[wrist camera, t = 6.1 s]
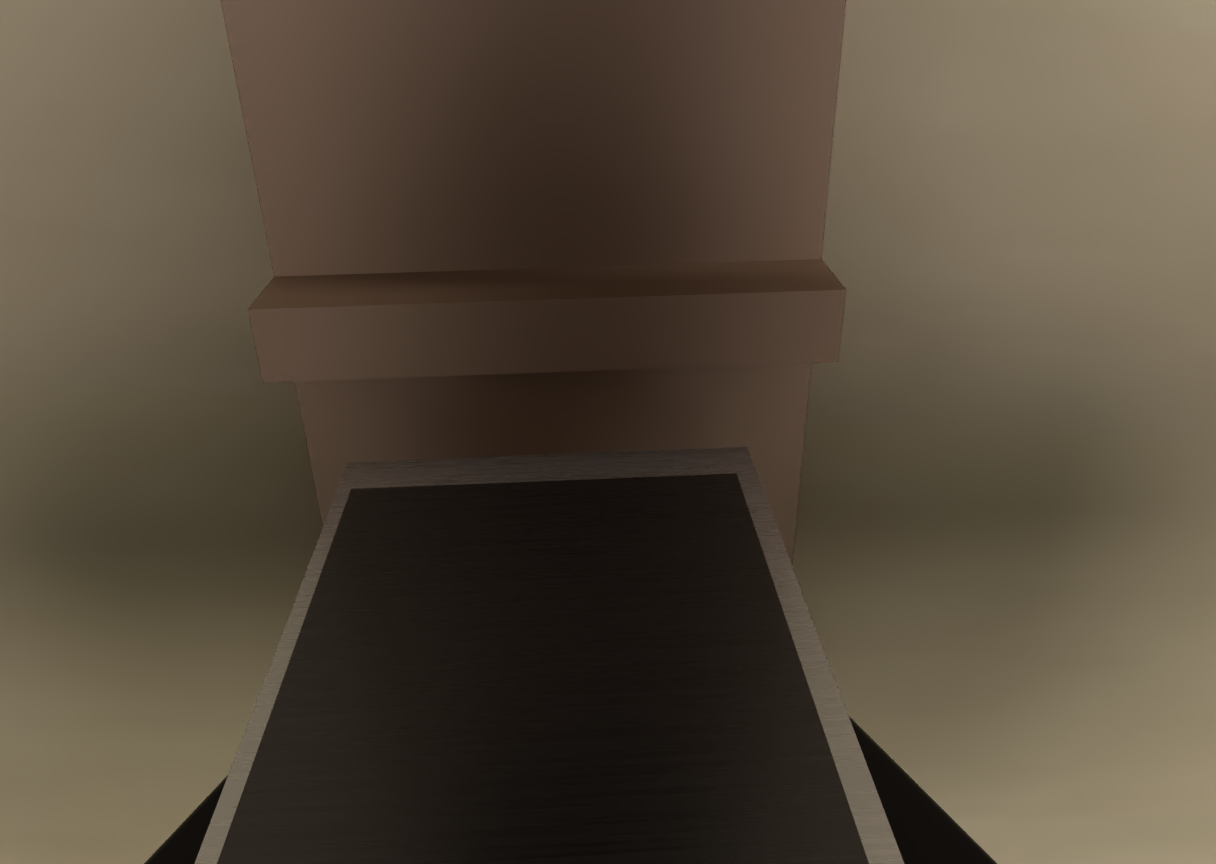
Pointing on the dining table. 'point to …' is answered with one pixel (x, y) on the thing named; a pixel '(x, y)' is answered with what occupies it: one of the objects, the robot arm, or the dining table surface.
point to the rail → (544, 225)
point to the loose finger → (550, 678)
